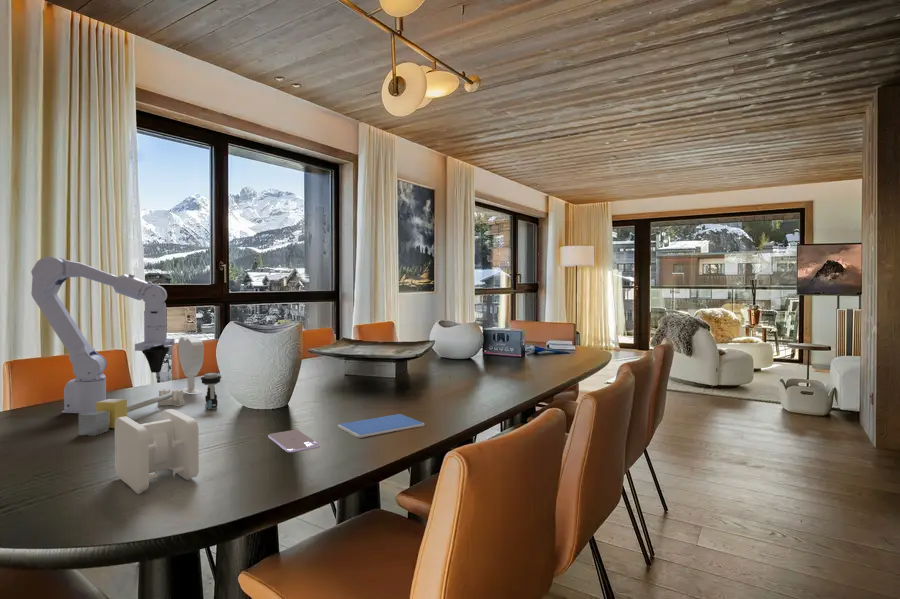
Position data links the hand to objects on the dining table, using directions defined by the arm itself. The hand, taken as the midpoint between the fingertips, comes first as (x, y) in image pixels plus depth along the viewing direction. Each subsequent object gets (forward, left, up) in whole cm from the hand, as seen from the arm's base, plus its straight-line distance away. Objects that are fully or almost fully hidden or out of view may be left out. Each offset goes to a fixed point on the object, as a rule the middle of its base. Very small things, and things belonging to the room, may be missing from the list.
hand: (155, 372), depth 151 cm
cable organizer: (+38, -52, -10) cm, 65 cm away
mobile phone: (+54, -27, -10) cm, 61 cm away
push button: (+18, -1, -10) cm, 21 cm away
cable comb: (+4, +1, -10) cm, 11 cm away
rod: (+4, -12, -8) cm, 15 cm away
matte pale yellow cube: (+4, -22, -10) cm, 24 cm away
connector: (+4, -28, -10) cm, 30 cm away
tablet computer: (+71, -12, -11) cm, 73 cm away
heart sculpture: (-2, +20, -10) cm, 22 cm away
